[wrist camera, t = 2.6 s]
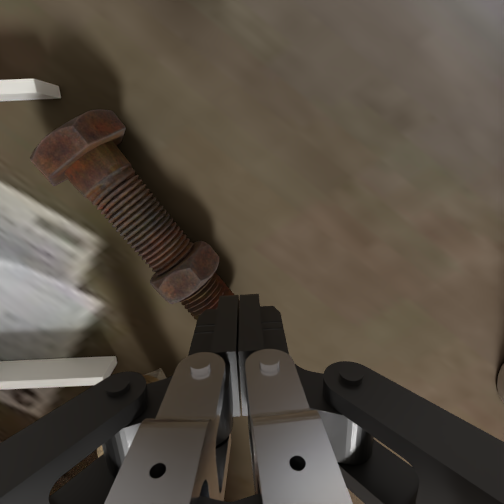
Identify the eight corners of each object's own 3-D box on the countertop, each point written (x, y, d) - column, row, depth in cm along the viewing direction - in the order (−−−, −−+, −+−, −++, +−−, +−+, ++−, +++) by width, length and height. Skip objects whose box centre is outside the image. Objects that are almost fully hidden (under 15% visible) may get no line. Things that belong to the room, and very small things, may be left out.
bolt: (219, 298, 27) (89, 141, 23) (265, 283, 24) (124, 98, 19) (181, 354, 23) (11, 174, 18) (231, 345, 20) (41, 126, 15)
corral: (58, 85, 20) (33, 78, 18) (117, 363, 27) (104, 384, 24) (-115, 94, 20) (-163, 87, 18) (-14, 368, 27) (-39, 391, 24)
